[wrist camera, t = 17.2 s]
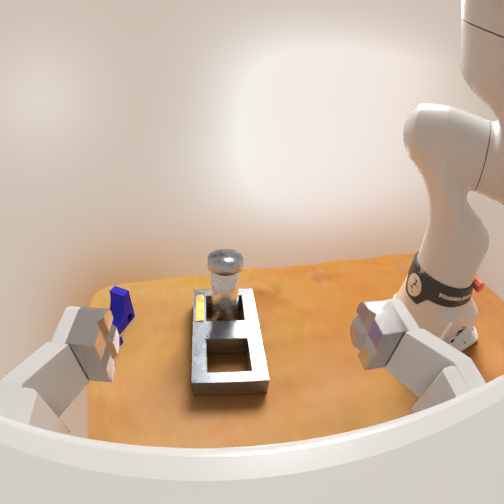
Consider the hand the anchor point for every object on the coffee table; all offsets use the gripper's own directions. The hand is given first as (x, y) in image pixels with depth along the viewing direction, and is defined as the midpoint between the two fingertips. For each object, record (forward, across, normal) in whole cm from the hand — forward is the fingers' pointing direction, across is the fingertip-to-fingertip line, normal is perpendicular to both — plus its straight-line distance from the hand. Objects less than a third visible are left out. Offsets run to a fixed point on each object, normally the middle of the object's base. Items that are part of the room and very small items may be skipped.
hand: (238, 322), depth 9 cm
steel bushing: (+29, -1, +30) cm, 42 cm away
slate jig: (+24, -1, +30) cm, 38 cm away
